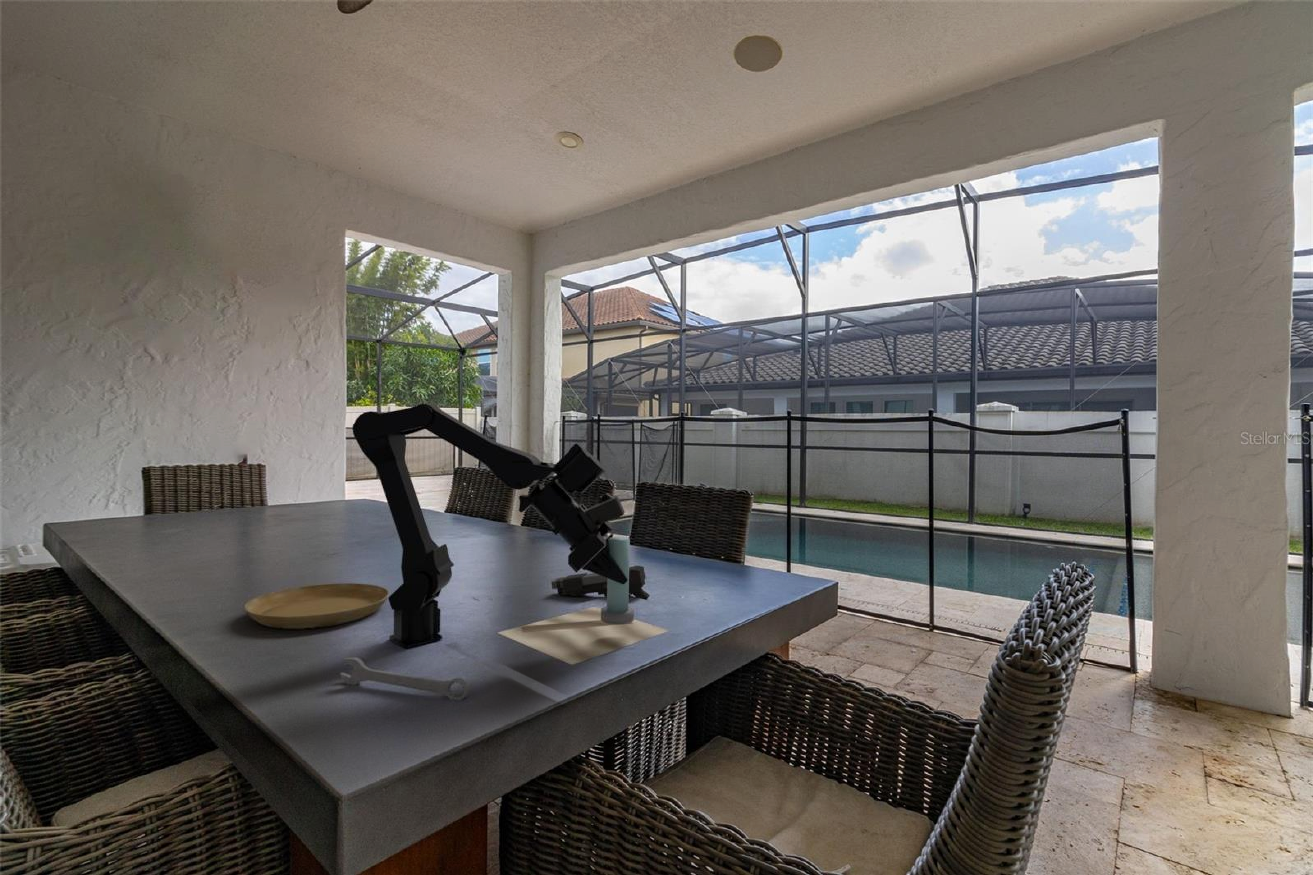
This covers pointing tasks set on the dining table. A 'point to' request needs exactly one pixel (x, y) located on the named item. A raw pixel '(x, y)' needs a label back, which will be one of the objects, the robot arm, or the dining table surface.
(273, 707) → the dining table surface
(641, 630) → the board
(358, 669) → the combination wrench
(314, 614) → the plant saucer
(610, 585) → the marker post
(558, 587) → the gun
